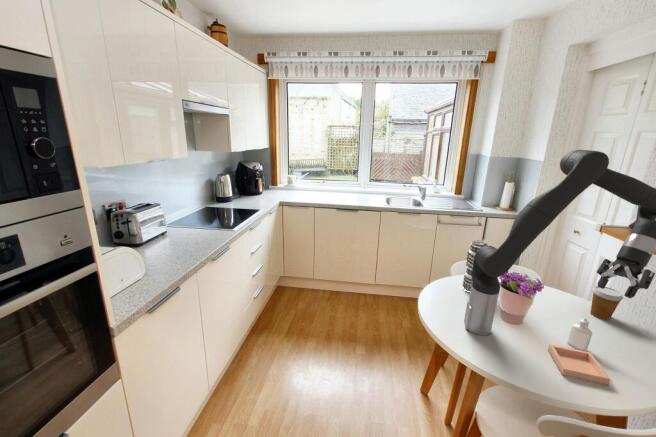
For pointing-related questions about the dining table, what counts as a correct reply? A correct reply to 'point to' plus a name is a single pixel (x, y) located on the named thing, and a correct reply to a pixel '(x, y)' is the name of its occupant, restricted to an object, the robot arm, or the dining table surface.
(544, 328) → the dining table surface
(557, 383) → the dining table surface
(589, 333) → the eye dropper bottle
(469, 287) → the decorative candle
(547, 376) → the dining table surface
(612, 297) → the disposable coffee cup
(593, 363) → the terracotta caddy
